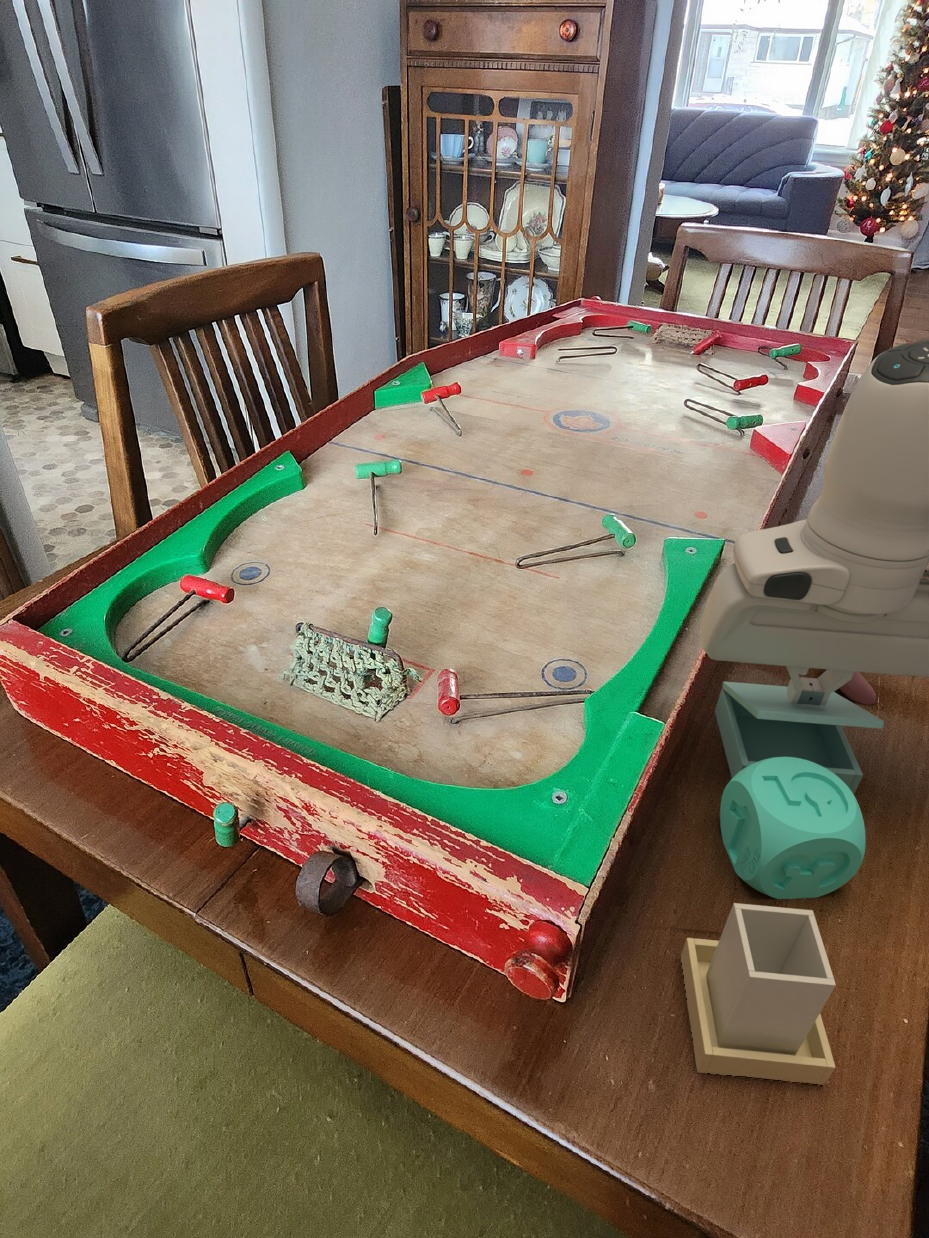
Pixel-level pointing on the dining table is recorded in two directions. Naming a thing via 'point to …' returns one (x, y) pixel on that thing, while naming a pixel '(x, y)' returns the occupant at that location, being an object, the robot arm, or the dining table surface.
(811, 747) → the grey-teal open box
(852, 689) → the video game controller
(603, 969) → the dining table surface
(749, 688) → the lid
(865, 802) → the dining table surface
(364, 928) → the dining table surface
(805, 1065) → the tray
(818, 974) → the container
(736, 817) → the decorative dice
